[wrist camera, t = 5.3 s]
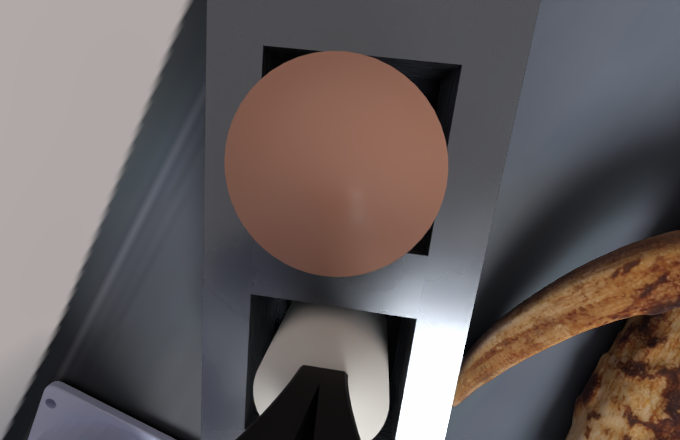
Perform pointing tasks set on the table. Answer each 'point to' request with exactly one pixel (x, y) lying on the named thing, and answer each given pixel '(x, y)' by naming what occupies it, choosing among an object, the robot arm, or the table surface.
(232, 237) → the panel
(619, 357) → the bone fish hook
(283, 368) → the knob
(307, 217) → the brown egg
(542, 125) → the table surface
